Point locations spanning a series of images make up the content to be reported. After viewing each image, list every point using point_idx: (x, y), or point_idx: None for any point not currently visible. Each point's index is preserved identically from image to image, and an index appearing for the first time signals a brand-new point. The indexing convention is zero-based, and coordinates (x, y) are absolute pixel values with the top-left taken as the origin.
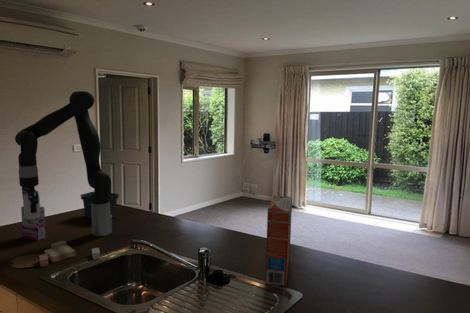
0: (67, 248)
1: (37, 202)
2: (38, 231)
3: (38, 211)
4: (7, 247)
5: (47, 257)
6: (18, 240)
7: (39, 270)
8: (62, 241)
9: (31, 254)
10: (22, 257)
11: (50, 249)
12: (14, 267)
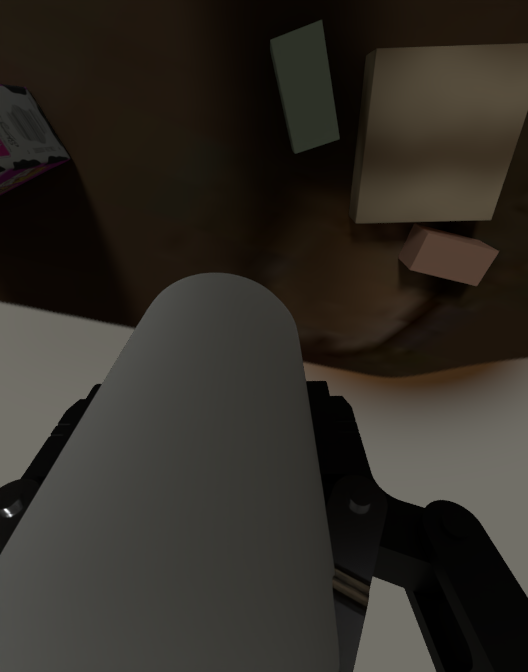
0: (454, 80)
1: (481, 542)
2: (29, 156)
3: (290, 346)
4: (106, 312)
5: (477, 247)
6: (11, 247)
7: (492, 288)
8: (297, 49)
9: (278, 258)
10: (286, 298)
11: (370, 186)
12: (370, 346)
